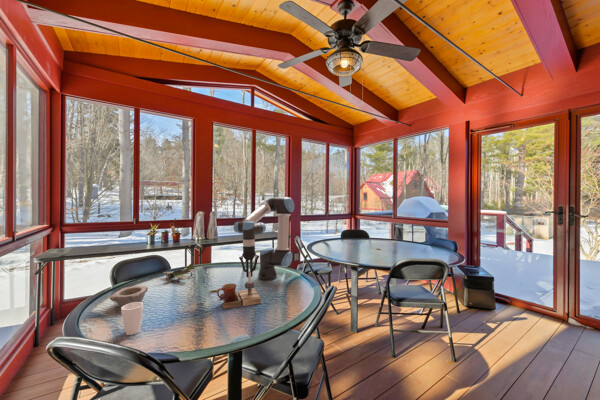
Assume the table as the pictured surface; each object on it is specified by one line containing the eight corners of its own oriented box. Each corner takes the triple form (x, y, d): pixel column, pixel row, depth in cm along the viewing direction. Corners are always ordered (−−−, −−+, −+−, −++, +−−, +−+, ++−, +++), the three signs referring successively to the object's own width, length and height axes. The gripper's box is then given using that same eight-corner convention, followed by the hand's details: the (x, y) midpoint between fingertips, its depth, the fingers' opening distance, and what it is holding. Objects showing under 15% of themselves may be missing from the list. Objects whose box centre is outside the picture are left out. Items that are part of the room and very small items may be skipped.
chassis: (220, 298, 175) (220, 288, 174) (254, 292, 183) (254, 283, 183) (223, 309, 158) (223, 298, 158) (260, 302, 166) (260, 292, 166)
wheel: (244, 286, 174) (244, 281, 174) (253, 284, 177) (253, 280, 176) (245, 289, 169) (245, 284, 169) (255, 287, 171) (255, 283, 171)
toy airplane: (206, 277, 217) (206, 265, 217) (177, 287, 196) (177, 273, 196) (183, 271, 234) (183, 260, 234) (155, 280, 213) (154, 267, 213)
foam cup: (134, 325, 140) (133, 301, 139) (148, 328, 137) (147, 303, 137) (117, 335, 131) (116, 308, 130) (131, 337, 128) (131, 311, 128)
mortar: (107, 312, 156) (106, 296, 156) (124, 300, 173) (124, 286, 173) (136, 311, 157) (136, 295, 157) (151, 299, 174) (150, 285, 174)
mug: (234, 298, 174) (234, 282, 174) (238, 303, 167) (238, 286, 166) (215, 302, 169) (215, 286, 168) (218, 307, 161) (218, 290, 161)
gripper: (239, 247, 166) (240, 285, 167) (260, 245, 171) (260, 282, 171) (237, 245, 173) (238, 281, 173) (257, 243, 178) (258, 278, 178)
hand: (249, 281), depth 172 cm, fingers closed
